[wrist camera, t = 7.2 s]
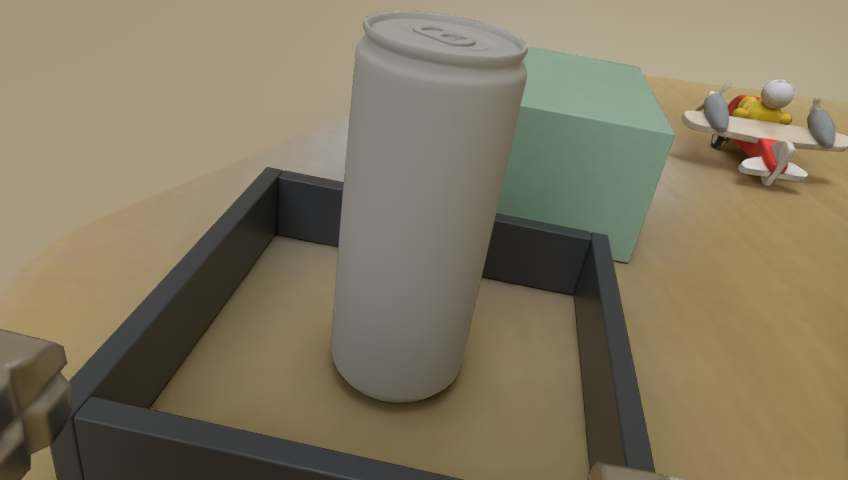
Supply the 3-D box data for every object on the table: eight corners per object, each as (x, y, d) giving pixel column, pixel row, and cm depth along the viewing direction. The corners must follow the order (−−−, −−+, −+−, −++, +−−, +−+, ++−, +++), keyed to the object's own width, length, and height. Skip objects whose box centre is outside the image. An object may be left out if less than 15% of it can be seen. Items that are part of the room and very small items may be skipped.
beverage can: (396, 435, 21) (459, 67, 15) (300, 356, 23) (321, 14, 17) (484, 369, 24) (566, 47, 18) (392, 307, 27) (436, 5, 21)
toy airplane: (721, 136, 53) (752, 58, 50) (834, 182, 48) (878, 98, 44) (661, 152, 48) (692, 66, 44) (781, 206, 42) (826, 112, 39)
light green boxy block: (386, 215, 33) (404, 82, 30) (422, 134, 44) (438, 29, 40) (628, 264, 33) (675, 134, 29) (606, 170, 43) (639, 66, 40)
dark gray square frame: (57, 490, 18) (40, 409, 16) (265, 223, 31) (266, 166, 29) (633, 624, 17) (672, 553, 15) (589, 290, 30) (608, 234, 29)
